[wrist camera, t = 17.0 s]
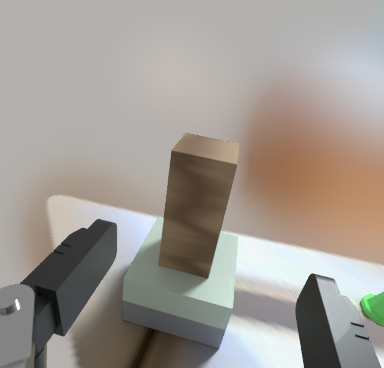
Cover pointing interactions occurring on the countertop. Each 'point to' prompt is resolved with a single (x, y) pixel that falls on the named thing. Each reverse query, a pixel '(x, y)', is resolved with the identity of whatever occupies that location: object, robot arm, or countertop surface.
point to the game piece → (374, 307)
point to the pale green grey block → (181, 292)
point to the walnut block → (196, 202)
